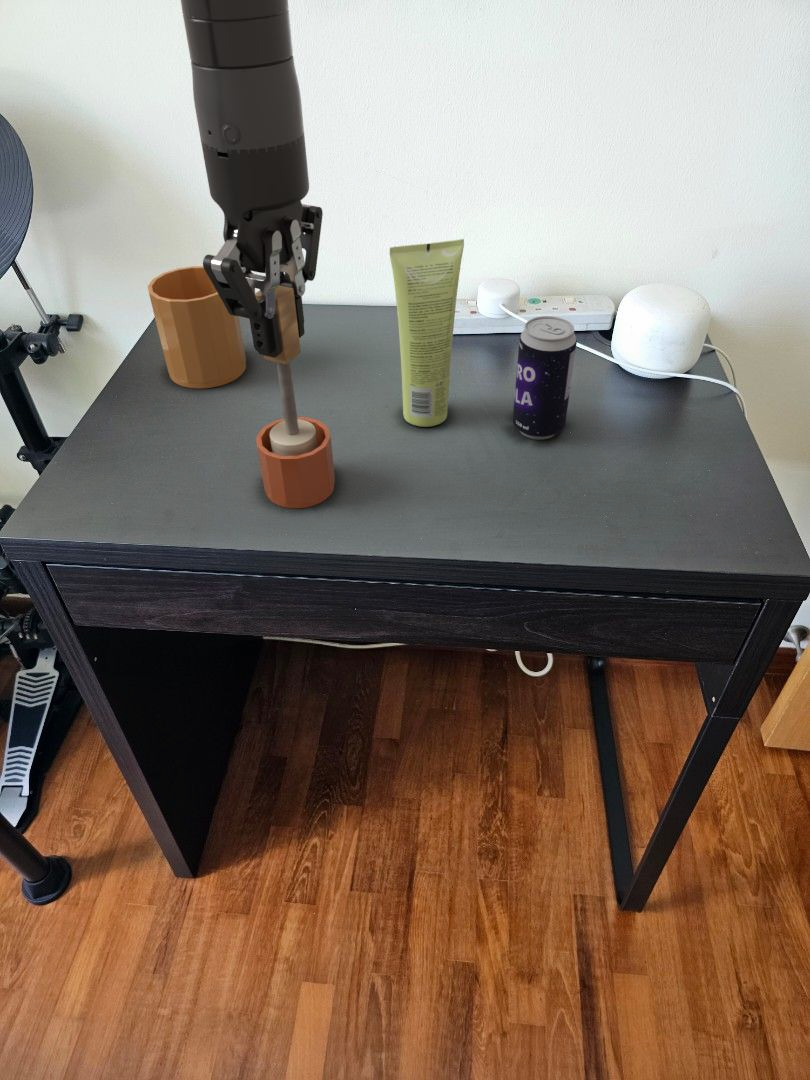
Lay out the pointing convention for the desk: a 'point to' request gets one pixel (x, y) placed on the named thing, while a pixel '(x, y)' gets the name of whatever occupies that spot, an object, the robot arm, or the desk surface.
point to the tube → (426, 325)
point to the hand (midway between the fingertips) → (280, 344)
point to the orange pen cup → (196, 329)
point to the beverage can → (544, 376)
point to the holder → (297, 470)
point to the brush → (288, 381)
